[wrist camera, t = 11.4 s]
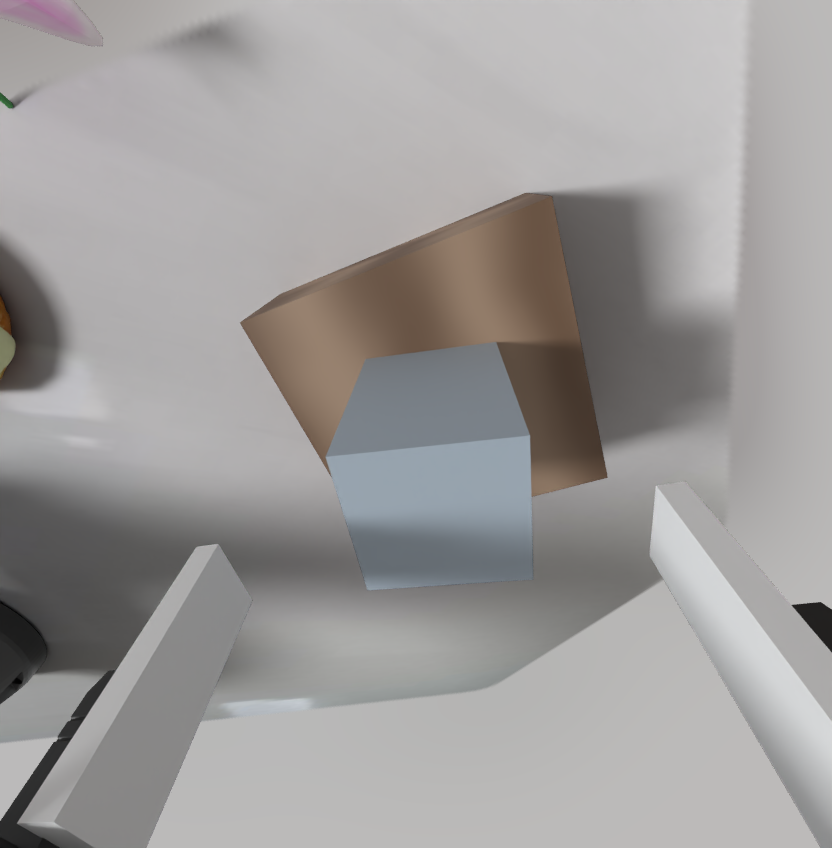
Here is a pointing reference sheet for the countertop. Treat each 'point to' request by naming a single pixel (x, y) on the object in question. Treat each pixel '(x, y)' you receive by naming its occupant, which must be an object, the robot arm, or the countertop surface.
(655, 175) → the countertop surface
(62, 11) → the lily
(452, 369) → the slate block
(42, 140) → the countertop surface
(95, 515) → the countertop surface
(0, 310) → the decorated donut
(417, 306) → the walnut block
